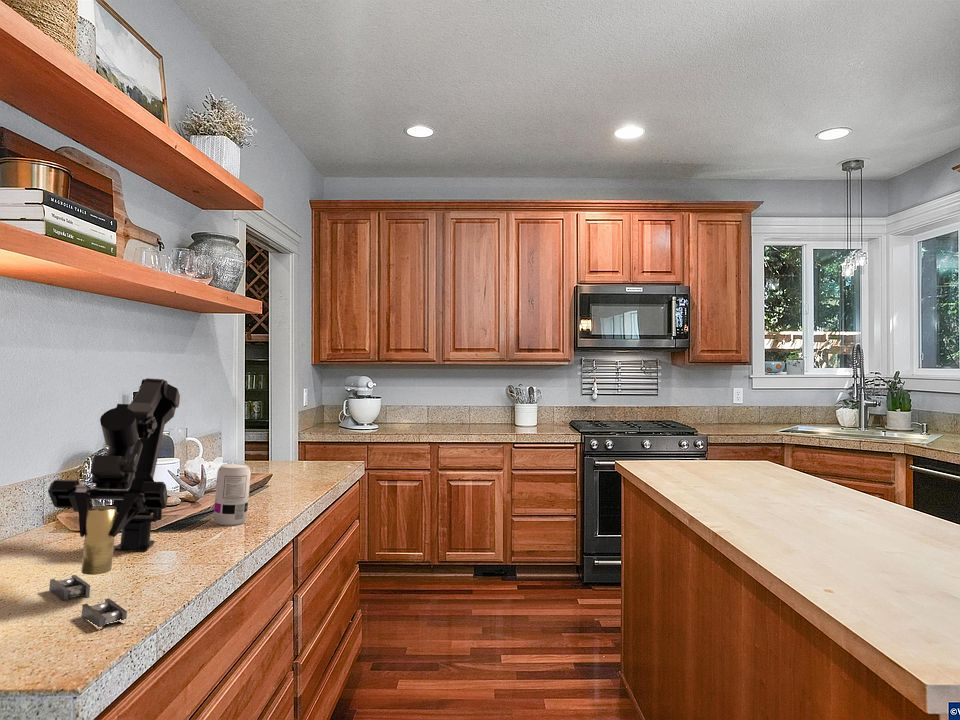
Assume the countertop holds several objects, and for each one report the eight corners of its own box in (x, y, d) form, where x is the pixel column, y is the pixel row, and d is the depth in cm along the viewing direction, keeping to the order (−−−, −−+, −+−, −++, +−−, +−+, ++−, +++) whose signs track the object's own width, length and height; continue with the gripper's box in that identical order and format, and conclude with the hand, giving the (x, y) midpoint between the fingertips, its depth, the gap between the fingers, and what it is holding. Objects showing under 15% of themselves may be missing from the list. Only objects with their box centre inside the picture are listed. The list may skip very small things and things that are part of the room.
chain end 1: (49, 590, 110) (50, 579, 110) (74, 585, 113) (75, 574, 113) (63, 602, 105) (64, 590, 105) (89, 596, 109) (90, 585, 109)
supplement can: (206, 523, 159) (211, 466, 159) (226, 516, 167) (231, 461, 167) (233, 527, 157) (238, 469, 157) (252, 520, 165) (257, 465, 165)
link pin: (93, 564, 112) (98, 504, 112) (117, 567, 111) (122, 507, 112) (75, 573, 107) (80, 510, 107) (99, 575, 107) (105, 513, 107)
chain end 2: (81, 616, 101) (82, 604, 101) (107, 610, 104) (109, 598, 104) (98, 630, 96) (99, 617, 96) (125, 623, 100) (126, 611, 100)
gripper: (57, 435, 111) (24, 510, 100) (169, 439, 116) (151, 512, 105) (69, 470, 118) (40, 544, 107) (174, 473, 123) (157, 544, 113)
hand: (97, 535), depth 108 cm, fingers closed on link pin, 5 cm apart
